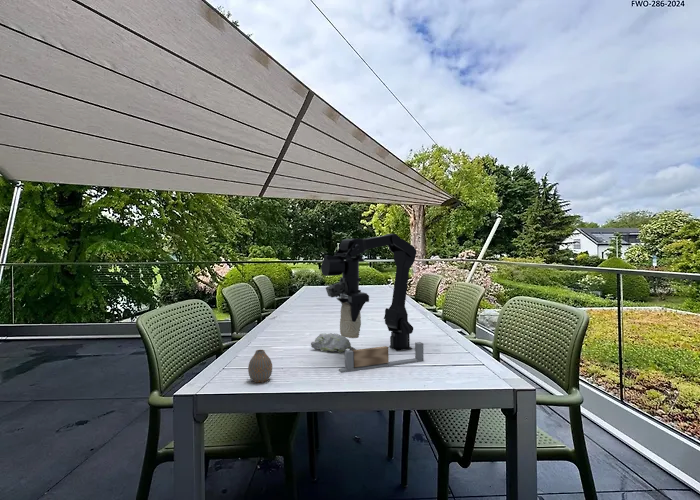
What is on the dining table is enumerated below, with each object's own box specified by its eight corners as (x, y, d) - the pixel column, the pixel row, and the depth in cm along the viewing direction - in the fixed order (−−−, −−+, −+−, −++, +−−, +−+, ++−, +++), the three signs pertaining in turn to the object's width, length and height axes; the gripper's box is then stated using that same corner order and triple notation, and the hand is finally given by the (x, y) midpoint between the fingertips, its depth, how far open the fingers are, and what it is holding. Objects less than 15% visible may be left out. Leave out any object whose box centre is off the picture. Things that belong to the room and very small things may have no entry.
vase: (250, 376, 113) (250, 347, 112) (273, 375, 113) (273, 347, 113) (246, 385, 106) (245, 354, 106) (270, 384, 106) (270, 353, 106)
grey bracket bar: (420, 359, 128) (419, 341, 128) (423, 361, 125) (423, 343, 125) (338, 370, 117) (338, 351, 117) (341, 372, 115) (341, 353, 115)
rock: (356, 350, 140) (356, 332, 140) (348, 355, 133) (348, 337, 133) (320, 346, 147) (320, 329, 147) (311, 351, 140) (310, 333, 140)
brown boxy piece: (379, 357, 127) (379, 342, 127) (388, 362, 121) (388, 347, 121) (347, 361, 123) (346, 346, 123) (354, 367, 117) (354, 351, 117)
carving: (364, 337, 128) (364, 303, 128) (346, 340, 124) (346, 304, 124) (353, 334, 134) (354, 301, 134) (336, 337, 129) (336, 302, 129)
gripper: (320, 273, 135) (320, 317, 135) (337, 277, 117) (337, 326, 117) (348, 273, 139) (348, 315, 139) (369, 276, 121) (369, 324, 121)
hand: (350, 320), depth 129 cm, fingers closed on carving, 6 cm apart
